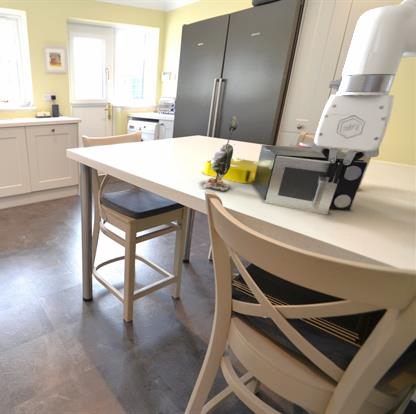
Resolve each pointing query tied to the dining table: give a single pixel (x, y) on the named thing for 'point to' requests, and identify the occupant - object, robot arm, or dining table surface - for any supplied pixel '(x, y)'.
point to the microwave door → (301, 184)
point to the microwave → (269, 153)
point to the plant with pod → (222, 161)
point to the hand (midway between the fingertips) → (332, 181)
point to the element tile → (236, 170)
